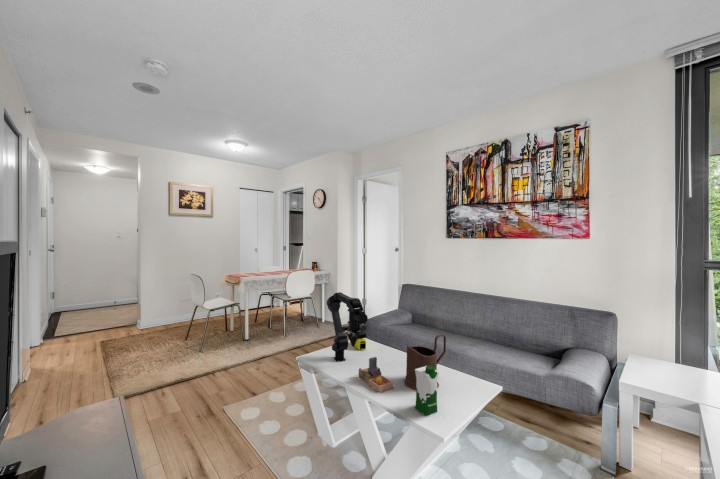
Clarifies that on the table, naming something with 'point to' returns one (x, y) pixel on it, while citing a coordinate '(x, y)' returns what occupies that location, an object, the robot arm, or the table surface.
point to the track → (366, 375)
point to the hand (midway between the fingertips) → (353, 346)
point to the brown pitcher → (421, 361)
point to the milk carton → (426, 390)
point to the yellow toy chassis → (360, 344)
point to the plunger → (373, 367)
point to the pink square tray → (384, 386)
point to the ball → (379, 380)
